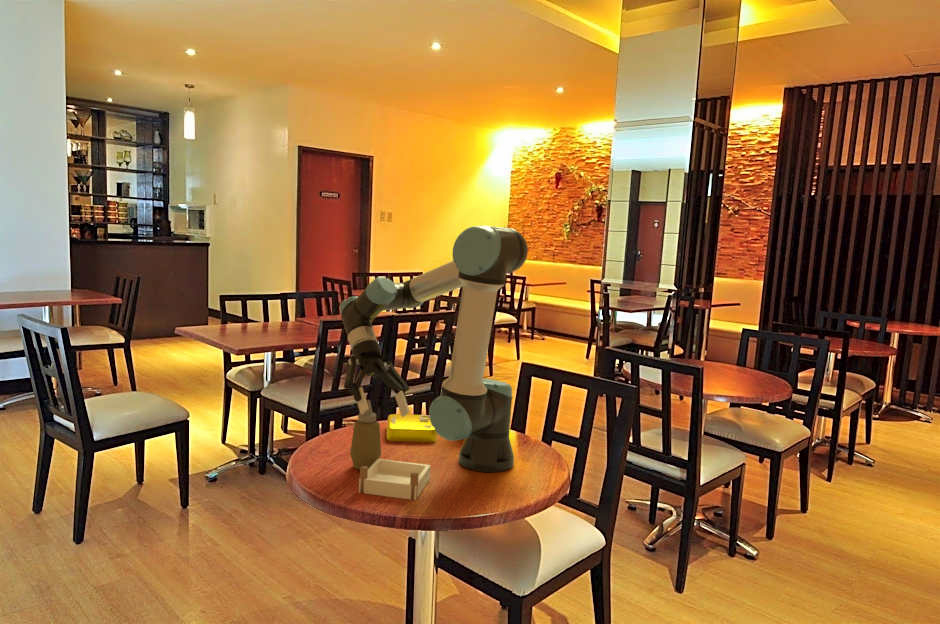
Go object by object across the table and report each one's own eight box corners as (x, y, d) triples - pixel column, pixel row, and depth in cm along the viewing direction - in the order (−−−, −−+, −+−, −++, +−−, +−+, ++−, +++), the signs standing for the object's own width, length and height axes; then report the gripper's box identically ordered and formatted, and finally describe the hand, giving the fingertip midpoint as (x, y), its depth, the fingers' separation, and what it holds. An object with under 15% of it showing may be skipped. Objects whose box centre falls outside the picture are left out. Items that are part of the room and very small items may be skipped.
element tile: (387, 426, 206) (388, 412, 205) (434, 428, 207) (435, 413, 207) (386, 442, 191) (386, 426, 190) (436, 443, 193) (437, 428, 192)
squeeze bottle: (358, 475, 164) (360, 406, 162) (344, 464, 170) (346, 398, 168) (386, 469, 169) (389, 402, 166) (371, 459, 175) (374, 395, 173)
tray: (430, 478, 164) (431, 455, 164) (416, 500, 151) (417, 475, 150) (377, 471, 167) (378, 449, 166) (358, 492, 153) (359, 468, 152)
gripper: (391, 358, 190) (413, 421, 179) (319, 349, 172) (338, 418, 161) (406, 344, 186) (429, 407, 175) (334, 332, 169) (354, 402, 158)
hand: (385, 413), depth 168 cm, fingers open, 13 cm apart
